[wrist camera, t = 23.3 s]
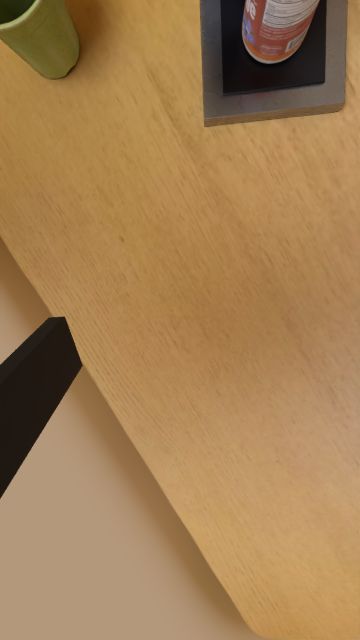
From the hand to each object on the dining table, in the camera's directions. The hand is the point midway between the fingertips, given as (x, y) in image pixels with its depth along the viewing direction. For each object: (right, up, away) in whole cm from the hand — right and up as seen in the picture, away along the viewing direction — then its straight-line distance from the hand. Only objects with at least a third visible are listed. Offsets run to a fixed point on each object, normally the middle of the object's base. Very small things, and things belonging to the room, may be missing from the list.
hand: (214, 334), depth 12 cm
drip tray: (+8, +29, +17) cm, 35 cm away
